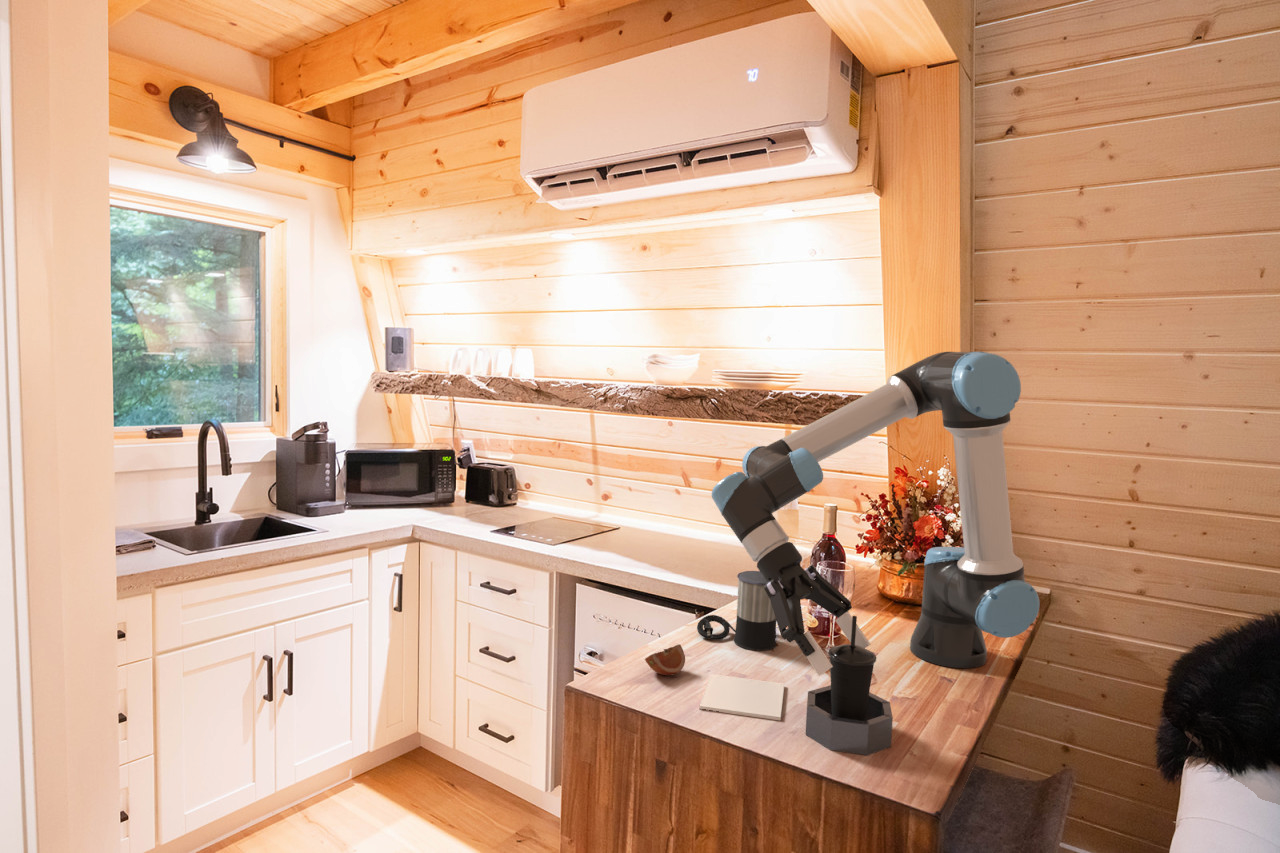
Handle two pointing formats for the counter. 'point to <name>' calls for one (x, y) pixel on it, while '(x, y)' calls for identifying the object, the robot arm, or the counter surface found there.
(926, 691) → the counter surface
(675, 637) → the counter surface
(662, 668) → the fruit slice
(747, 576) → the milk frother
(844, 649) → the drinking cup
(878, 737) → the grey octagonal ring
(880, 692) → the counter surface
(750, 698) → the coaster
